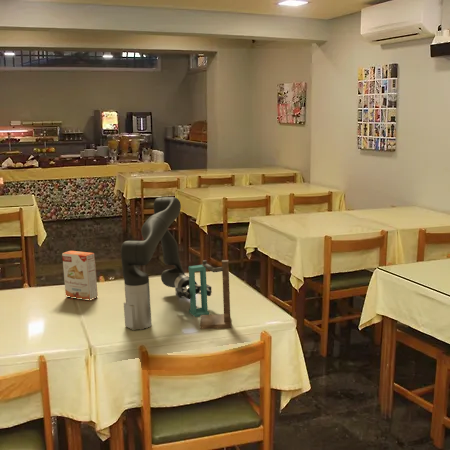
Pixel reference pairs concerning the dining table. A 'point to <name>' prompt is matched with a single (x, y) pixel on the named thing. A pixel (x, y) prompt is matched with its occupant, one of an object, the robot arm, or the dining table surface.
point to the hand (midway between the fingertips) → (199, 295)
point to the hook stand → (223, 319)
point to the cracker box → (80, 274)
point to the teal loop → (193, 309)
